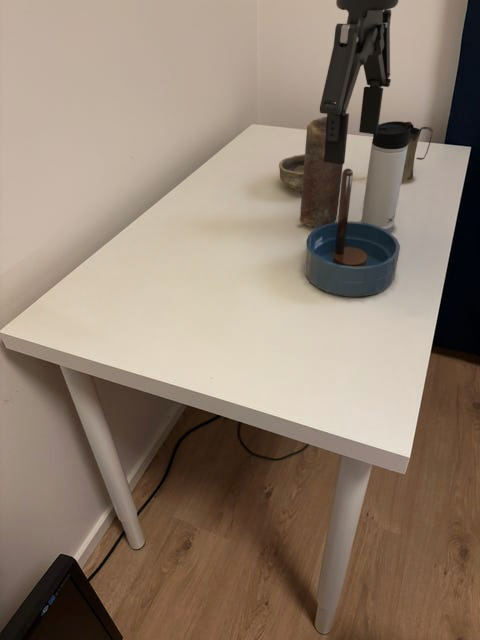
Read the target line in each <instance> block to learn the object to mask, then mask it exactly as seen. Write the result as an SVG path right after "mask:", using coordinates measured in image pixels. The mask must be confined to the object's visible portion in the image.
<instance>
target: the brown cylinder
mask: <svg viewBox="0 0 480 640" xmlns="http://www.w3.org/2000/svg"><path fill="white" fill-rule="evenodd" d="M326 124H327V116H321V117H319V118H316V119H313V120H312V121H310V123H309V124H307V126H306V136H305V148H304V149H305V150H304V154H305V162H304V174H303V188H302V191H301V198H300V199H301V201H300V212H299V222H300V223H301V224H302V225H308V226H310V227H311V228H314V229H316V228H318V227H320V226H323V225H326V224H329V223H335V222H337V220H338V212H339V202H340V192H341V182H342V173H343V165H344V164H343V165H340V164H334V163H328V162H324V155H325V139H326Z"/></svg>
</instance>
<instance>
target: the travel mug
mask: <svg viewBox="0 0 480 640" xmlns="http://www.w3.org/2000/svg"><path fill="white" fill-rule="evenodd" d="M413 127H414V124H413V123H412V122H411V121H406V122H405V121H397V120H394V121H387V122H383V123H379V125H378V133H377V134H376V135H375V134H372V141H371V147H370V153H369V161H368V167H367V168H368V169H367V175H366V183H365V189H364V198H363V205H362V212H361V220H360V222H362V223H367V224H371V225H375V226H378V227H380V228H383V229H385V230H386V231H388V232H390V233H391V231H392V230H393V229H394V224H395V218H396V213H397V207H398V201H399V197H400V192H401V188H402V187H401V186H402V183H401V181H402V176H403V170H404V165H405V159H406V154H407V148H408V140H409V136H410V130H411V128H412V129H413Z"/></svg>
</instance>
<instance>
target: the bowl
mask: <svg viewBox="0 0 480 640" xmlns="http://www.w3.org/2000/svg"><path fill="white" fill-rule="evenodd" d="M304 162H305V153H303V154H298V155H293V156H289V157H286V158H283V159H281V160H280V161H279V162H278V168H279V179H280V182H281V183H282V184H283V185H285V186H287V187H288V188H291V189H292V190H296V191H300V192H302V188H303V174H304Z"/></svg>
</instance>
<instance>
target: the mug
mask: <svg viewBox="0 0 480 640" xmlns="http://www.w3.org/2000/svg"><path fill="white" fill-rule="evenodd" d="M422 130H429V131H430V137H429V142H428V146H427V148H426V153H425V154H424V157H416V152H417V148H418V143H419V139H420V135H421V132H422ZM433 134H434V130H433V128H431V127H430V126H422V127H420V128H418V127H414V126H413V129H412V128H411V130H410V136H409V140H408V148H407V154H406V159H405V165H404V170H403V176H402V181H401V184H407V183H411V182H412V181H413V179H414V177H413V176H414V165H415V158H416V160H419V161H422V160H424V159H426V156H427V154H428V152H429V148H430V146H431V143H432V142H431V141H432V138H433Z"/></svg>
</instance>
